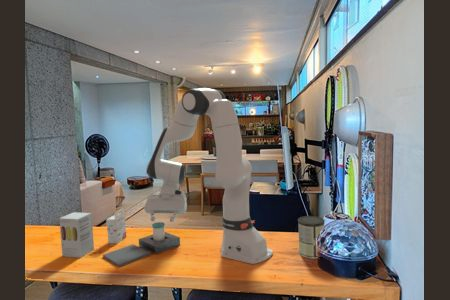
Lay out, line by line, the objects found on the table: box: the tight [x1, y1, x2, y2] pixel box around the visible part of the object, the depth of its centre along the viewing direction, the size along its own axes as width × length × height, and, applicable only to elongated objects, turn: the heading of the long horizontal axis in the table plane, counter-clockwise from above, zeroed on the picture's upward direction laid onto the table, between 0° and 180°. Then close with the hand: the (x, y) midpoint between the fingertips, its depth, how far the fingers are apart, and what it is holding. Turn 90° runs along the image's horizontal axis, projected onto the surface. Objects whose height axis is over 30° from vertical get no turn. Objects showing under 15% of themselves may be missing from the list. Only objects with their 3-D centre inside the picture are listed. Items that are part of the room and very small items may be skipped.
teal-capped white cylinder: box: [151, 221, 166, 242], centre depth 139 cm, size 5×5×10 cm
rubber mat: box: [102, 243, 151, 268], centre depth 130 cm, size 14×14×1 cm
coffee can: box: [297, 215, 326, 260], centre depth 125 cm, size 10×10×14 cm
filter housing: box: [138, 231, 181, 255], centre depth 139 cm, size 13×13×4 cm
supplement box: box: [58, 211, 95, 259], centre depth 135 cm, size 10×9×17 cm
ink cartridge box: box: [105, 208, 127, 244], centre depth 148 cm, size 9×5×15 cm, turn 168°
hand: (162, 221), depth 143 cm, fingers open, 8 cm apart
